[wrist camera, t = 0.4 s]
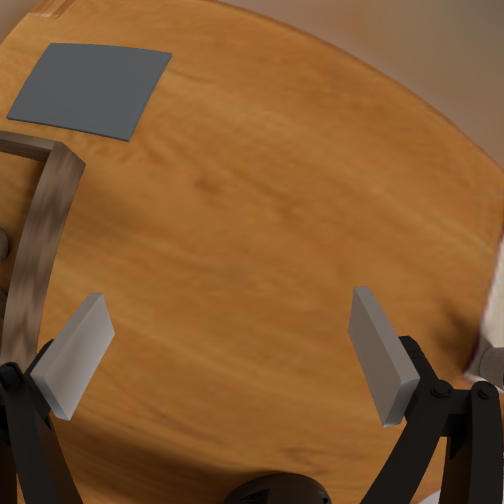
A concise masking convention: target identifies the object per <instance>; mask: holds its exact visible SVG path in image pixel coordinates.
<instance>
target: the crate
mask: <svg viewBox="0 0 504 504" xmlns="http://www.w3.org/2000/svg"><path fill="white" fill-rule="evenodd" d="M0 151H1V152H5V153H9V154H13V155H18V156H22V157H26V158H30V159H34V160H38V161H42V162H46V165H45V167H44V170H43V172H42V175H41V178H40V180H39V183H38V186H37V188H36V191H35V194H34V197H33V200H32V203H31V206H30V209H29V212H28V215H27V219H26V222H25V225H24V229H23V232H22V236H21V239H20V243H19V247H18V251H17V255H16V259H15V263H14V268H13V272H12V277H11V282H10V287H9V292H8V298H7V304H6V310H5V317H4V324H3V333H2V342H1V353H0V366H1V365H2V364H4V363H6V362H15V363H17V364H18V366H19V367H20V369H21V371H22V373H23V374H24V372H25V371H26V370H27V368H28V367H29V365H30V364H31V362H32V361H33V360H34V359H35V357H36V351H37V343H38V336H39V330H40V324H41V318H42V313H43V307H44V302H45V297H46V293H47V288H48V284H49V279H50V275H51V271H52V267H53V263H54V259H55V255H56V252H57V248H58V244H59V241H60V237H61V234H62V231H63V227H64V224H65V221H66V218H67V215H68V212H69V209H70V206H71V203H72V200H73V197H74V194H75V192H76V189H77V186H78V184H79V181H80V178H81V176H82V173H83V171H84V168H85V166H86V164H85V163H84V162H83V161H82V160H81V159H80V158H79V157H78V156H76V155H75V154H74V153H73V152H72V151H71V150H70V149H69V148H68V147H67V146H66V145H65V144H64V143H62V142H58V141H53V140H48V139H43V138H38V137H33V136H27V135H22V134H17V133H11V132H6V131H0ZM0 386H1V384H0Z"/></svg>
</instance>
